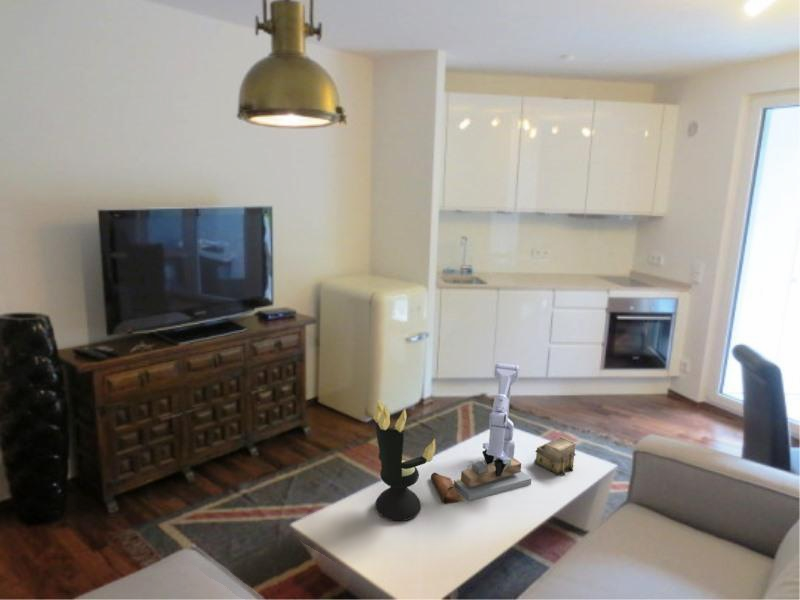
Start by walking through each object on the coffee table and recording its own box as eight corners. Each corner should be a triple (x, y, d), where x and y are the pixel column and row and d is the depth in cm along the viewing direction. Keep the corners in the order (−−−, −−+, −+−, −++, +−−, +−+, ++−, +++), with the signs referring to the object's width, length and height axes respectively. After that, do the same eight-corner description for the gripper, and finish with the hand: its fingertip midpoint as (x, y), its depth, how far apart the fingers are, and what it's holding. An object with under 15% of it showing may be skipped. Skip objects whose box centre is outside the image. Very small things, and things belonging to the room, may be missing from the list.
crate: (480, 466, 220) (481, 461, 220) (487, 472, 216) (488, 466, 216) (472, 468, 218) (472, 463, 218) (479, 474, 214) (479, 468, 214)
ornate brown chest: (579, 467, 239) (582, 443, 237) (560, 477, 231) (563, 452, 228) (550, 453, 251) (552, 430, 248) (531, 462, 242) (533, 438, 239)
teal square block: (503, 460, 226) (504, 454, 226) (510, 465, 222) (511, 459, 222) (495, 462, 224) (496, 456, 224) (502, 467, 220) (503, 461, 220)
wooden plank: (511, 465, 230) (512, 457, 229) (520, 472, 225) (521, 463, 224) (460, 480, 217) (461, 471, 216) (469, 487, 212) (470, 478, 211)
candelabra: (433, 507, 206) (440, 394, 196) (399, 537, 188) (405, 414, 178) (392, 490, 216) (396, 381, 206) (356, 517, 198) (359, 399, 188)
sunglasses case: (464, 501, 210) (457, 489, 208) (449, 512, 210) (441, 499, 207) (449, 477, 227) (442, 465, 225) (435, 486, 227) (428, 474, 225)
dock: (513, 471, 234) (514, 465, 233) (530, 484, 225) (531, 478, 224) (453, 486, 221) (454, 480, 220) (469, 500, 211) (469, 494, 211)
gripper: (477, 434, 223) (475, 465, 226) (499, 450, 210) (496, 483, 213) (491, 431, 226) (489, 461, 229) (514, 447, 213) (511, 479, 216)
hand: (493, 471), depth 221 cm, fingers closed on wooden plank, 6 cm apart
